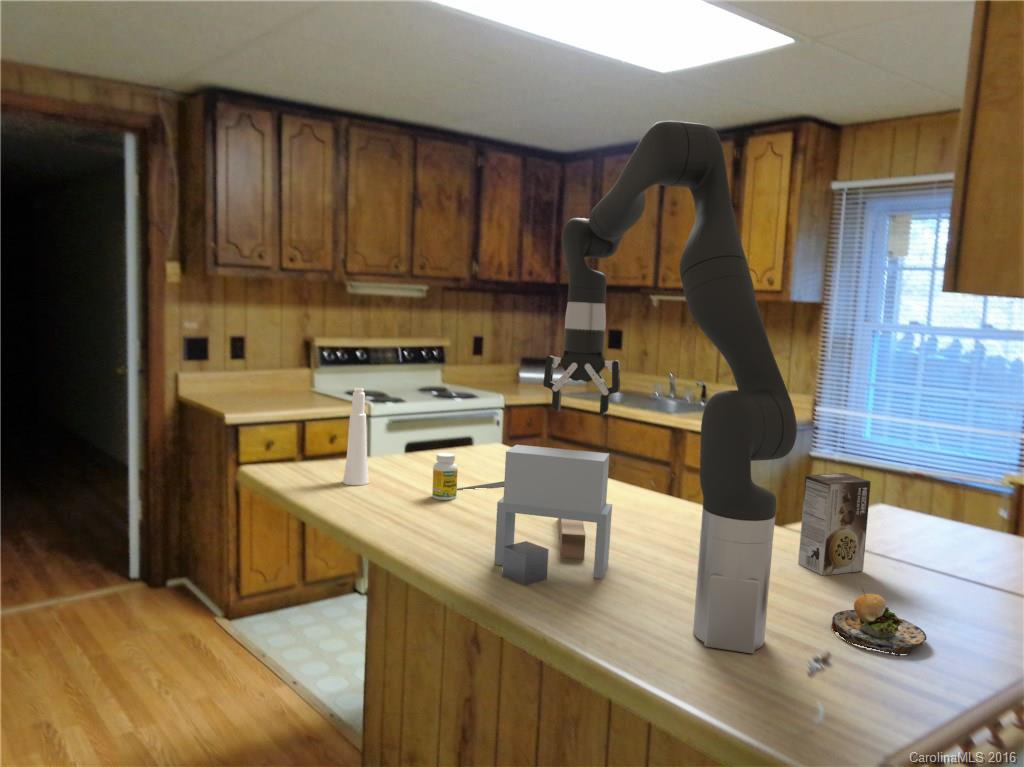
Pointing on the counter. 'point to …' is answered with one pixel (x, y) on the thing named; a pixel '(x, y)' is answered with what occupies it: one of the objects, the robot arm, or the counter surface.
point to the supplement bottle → (445, 477)
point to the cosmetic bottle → (357, 443)
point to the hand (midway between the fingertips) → (579, 412)
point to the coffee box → (834, 523)
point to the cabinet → (555, 494)
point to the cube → (525, 563)
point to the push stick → (572, 538)
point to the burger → (876, 626)
